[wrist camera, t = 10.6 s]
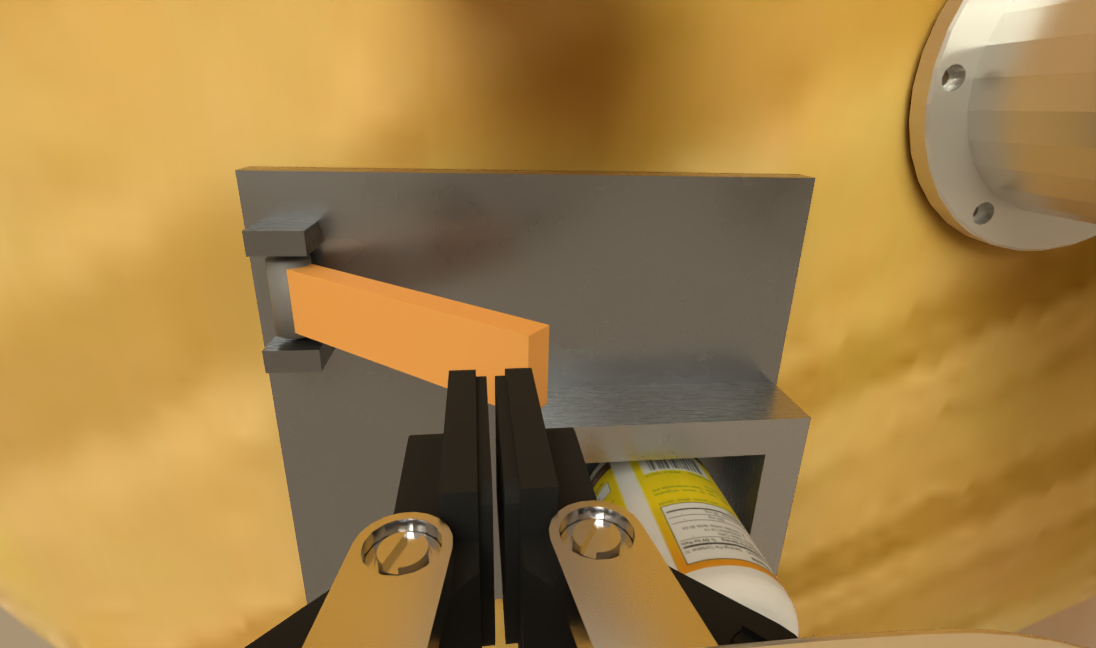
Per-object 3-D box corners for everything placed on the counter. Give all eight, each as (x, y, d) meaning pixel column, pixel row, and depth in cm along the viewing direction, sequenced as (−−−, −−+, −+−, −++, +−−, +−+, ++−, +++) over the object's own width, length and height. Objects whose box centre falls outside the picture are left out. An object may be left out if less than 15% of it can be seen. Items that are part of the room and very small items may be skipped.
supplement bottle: (612, 557, 26) (691, 816, 16) (558, 470, 24) (613, 709, 14) (722, 503, 26) (867, 737, 16) (677, 411, 24) (814, 615, 14)
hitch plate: (797, 174, 22) (867, 189, 18) (729, 561, 29) (769, 633, 25) (249, 166, 19) (192, 181, 16) (315, 591, 26) (287, 676, 22)
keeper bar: (555, 314, 14) (522, 331, 13) (552, 406, 15) (521, 428, 14) (293, 250, 20) (255, 258, 18) (303, 321, 21) (267, 332, 19)
